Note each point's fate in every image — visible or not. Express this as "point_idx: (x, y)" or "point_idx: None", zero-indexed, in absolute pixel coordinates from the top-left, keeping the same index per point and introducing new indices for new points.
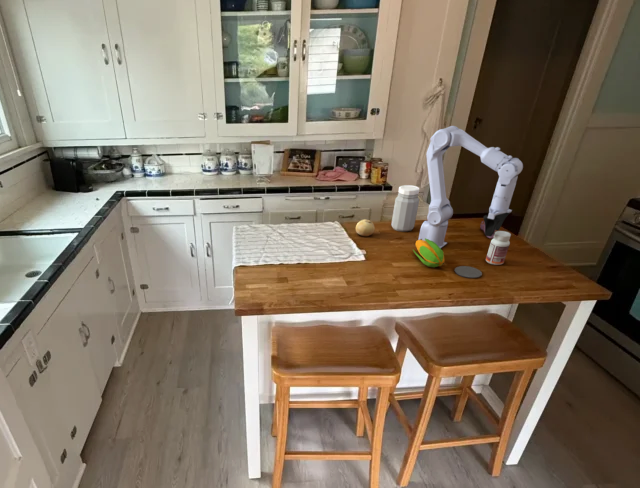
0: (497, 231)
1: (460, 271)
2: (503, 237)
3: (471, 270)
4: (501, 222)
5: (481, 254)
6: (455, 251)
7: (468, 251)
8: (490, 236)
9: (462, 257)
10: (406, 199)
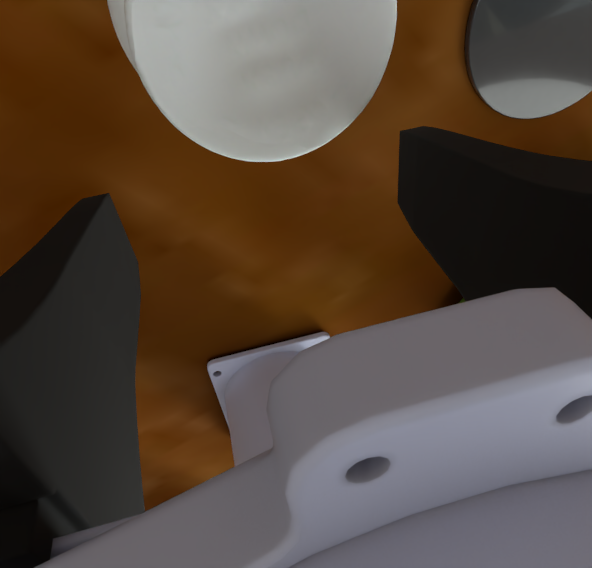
0: (249, 150)
1: (584, 61)
2: None
3: (530, 11)
4: (79, 266)
5: (157, 141)
6: (269, 273)
7: (195, 229)
8: (426, 129)
9: (326, 193)
10: None
